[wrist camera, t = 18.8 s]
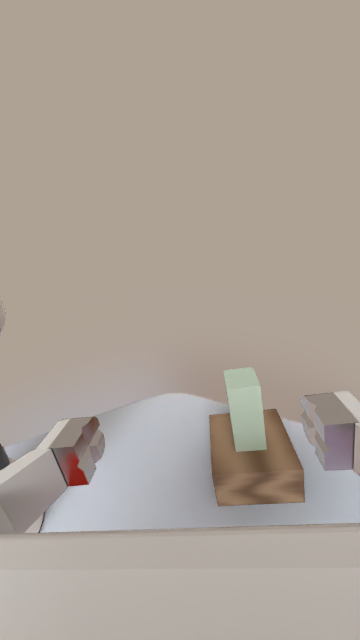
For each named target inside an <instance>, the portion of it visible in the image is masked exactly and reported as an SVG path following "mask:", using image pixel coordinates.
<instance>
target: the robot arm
mask: <svg viewBox="0 0 360 640" xmlns="http://www.w3.org/2000/svg"><path fill="white" fill-rule="evenodd" d="M4 324H5V308H4V305H3V303H2V300H1V298H0V334H1V333H2V330H3V328H4ZM301 405H302V407H303V409H304V411H305V412H304V413H303V414H302V424H303V428H304V432H305V434H306V437H307V439H308V441H309V442H310V443H311V444H313V445H314V446H315V454H316V455H317V457H318V459H319V461H320V463H321V464H322V466H323V468H324V470H325V471H328V470H353V471H354V472H355V473H357V474H358V475H359V476H360V402H358V400H357V399H356V398H355V397H354V396H353V395H352V394H351V393H350V392H348V391H346V390H344V391H337V392H331V393H323V394H314V395H304V396H302V398H301ZM99 425H100V424H99V421H98V419H97V418H96V417H83V418H72V419H62V420H60V421H58V422H57V423H56V425H55V426H54V427H53V428H52V430H51V431H50V432H49V433H48V434H47V436H46V437H45V438H44V439H43V441H42V442H41V443H40V444H39V446H38V447H37V448H36V449H35V450H32V451H30V452H28V453H27V454H25V455H24V456H22V457H21V458H19V459H18V460H16V461H14V460H13V459H12V458H8V456H7V454H6V451H5V449H4V447H3V446H1V444H0V640H360V523H345V524H312V525H279V526H246V527H214V528H180V529H147V530H114V531H81V532H48V533H38V532H39V530H40V527H41V524H42V520H43V514H44V512H45V511H46V510H47V509H48V508H49V507H50V506H51V505H52V504H53V503H54V502H55V500H56V499H57V498H58V497H59V496H60V495H61V494H62V493H63V492H64V491H65V490H66V489H67V488H68V486H79V485H89V483H90V481H91V479H92V477H93V474H94V472H95V470H96V465H95V463H96V462H97V461H98V460H100V459H101V457H102V455H103V453H104V448H105V439H104V435H103V433H102V432H101V431H100V430H98V428H99Z"/></svg>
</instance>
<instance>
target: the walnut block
mask: <svg viewBox="0 0 360 640" xmlns="http://www.w3.org/2000/svg"><path fill="white" fill-rule="evenodd" d="M263 416H264V426H265V436H266V446H267V450H255V451H242V452H236V449H235V443H234V437H233V431H232V425H231V418H230V413H227V414H217V415H209V419H210V440H211V461H212V477H213V482H214V487H215V492H216V497H217V503H218V506H228V505H251V504H274V503H297V502H305V497H304V473H303V468H302V465H301V463H300V461H299V459H298V457H297V454H296V452H295V450H294V448H293V445H292V443H291V441H290V439H289V436H288V434H287V432H286V430H285V428H284V425H283V423H282V421H281V419H280V416H279V414H278V412H277V410H276V409H269V410H263Z"/></svg>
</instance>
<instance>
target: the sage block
mask: <svg viewBox="0 0 360 640" xmlns="http://www.w3.org/2000/svg"><path fill="white" fill-rule="evenodd" d="M224 378H225V384H226V391H227V398H228V405H229V412H230V418H231V425H232V431H233V437H234V443H235V449H236V452H242V451H255V450H267V446H266V436H265V426H264V416H263V407H262V396H261V386H260V384H259V381H258V379H257V377H256V374H255V371H254V369H253V367H249V368H241V369H232V370H224Z"/></svg>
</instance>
